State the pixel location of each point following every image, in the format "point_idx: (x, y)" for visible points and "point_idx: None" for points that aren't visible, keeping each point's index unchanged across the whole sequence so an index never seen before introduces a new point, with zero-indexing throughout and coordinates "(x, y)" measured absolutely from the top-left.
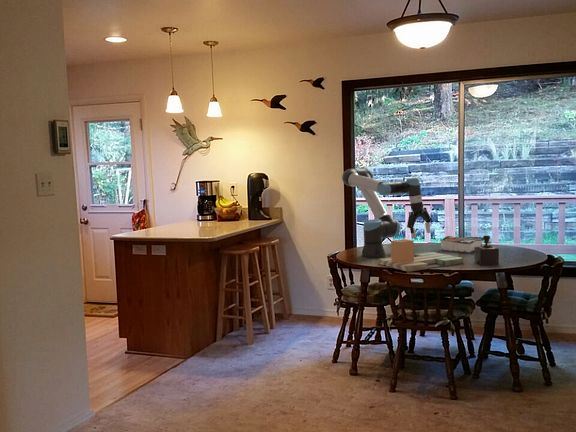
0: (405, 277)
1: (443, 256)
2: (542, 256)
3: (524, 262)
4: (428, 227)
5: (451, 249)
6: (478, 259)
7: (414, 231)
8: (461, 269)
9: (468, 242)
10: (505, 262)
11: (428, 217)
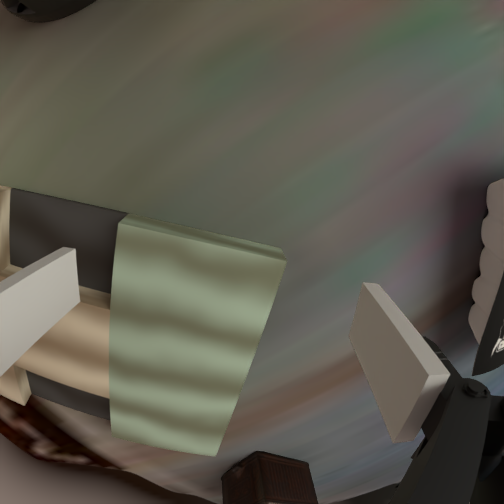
0: None
1: (186, 398)
2: None
3: (333, 492)
4: (374, 374)
5: (484, 239)
6: (236, 480)
7: (23, 341)
8: (120, 462)
9: (492, 346)
10: None
11: (476, 500)
